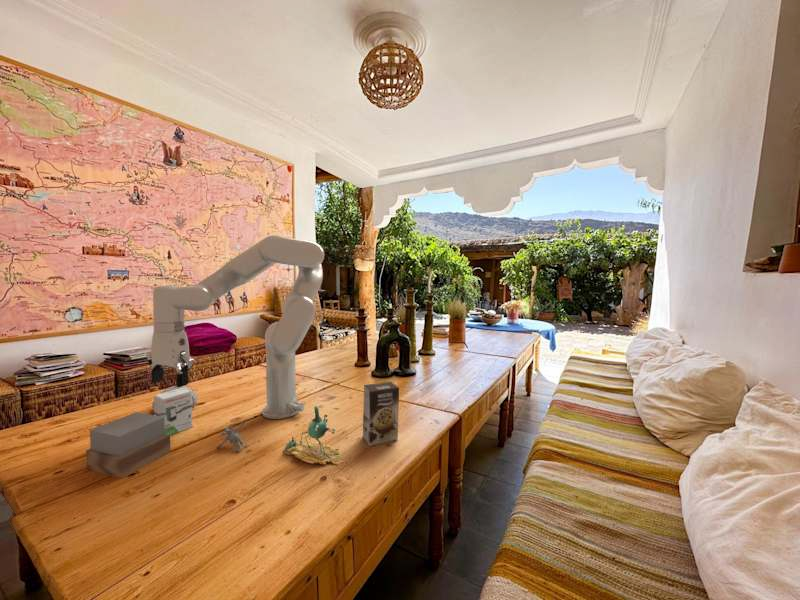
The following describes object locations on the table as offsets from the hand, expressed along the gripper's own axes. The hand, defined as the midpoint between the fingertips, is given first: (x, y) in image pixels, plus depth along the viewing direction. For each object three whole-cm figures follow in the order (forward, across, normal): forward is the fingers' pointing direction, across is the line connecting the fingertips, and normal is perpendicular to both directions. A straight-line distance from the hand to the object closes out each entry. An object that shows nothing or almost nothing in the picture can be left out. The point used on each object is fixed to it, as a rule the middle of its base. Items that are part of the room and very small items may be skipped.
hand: (169, 383), depth 99 cm
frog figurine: (+14, -48, -3) cm, 50 cm away
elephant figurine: (+14, -25, 0) cm, 29 cm away
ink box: (+15, -1, -1) cm, 15 cm away
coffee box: (+13, -62, -17) cm, 65 cm away
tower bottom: (+15, -5, +14) cm, 22 cm away
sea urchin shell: (+15, +13, -13) cm, 24 cm away
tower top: (+10, -4, +14) cm, 18 cm away
